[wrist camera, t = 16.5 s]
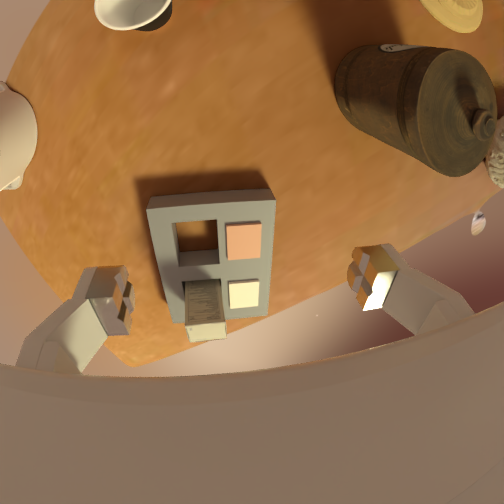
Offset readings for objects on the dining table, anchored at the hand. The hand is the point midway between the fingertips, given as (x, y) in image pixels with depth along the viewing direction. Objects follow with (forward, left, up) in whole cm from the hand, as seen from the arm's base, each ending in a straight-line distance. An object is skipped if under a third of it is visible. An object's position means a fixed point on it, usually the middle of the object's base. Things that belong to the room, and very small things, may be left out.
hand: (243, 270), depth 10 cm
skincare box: (-3, -28, -31) cm, 42 cm away
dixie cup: (-8, +16, -31) cm, 36 cm away
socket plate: (-1, -23, -31) cm, 39 cm away
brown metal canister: (+24, +6, -31) cm, 40 cm away
